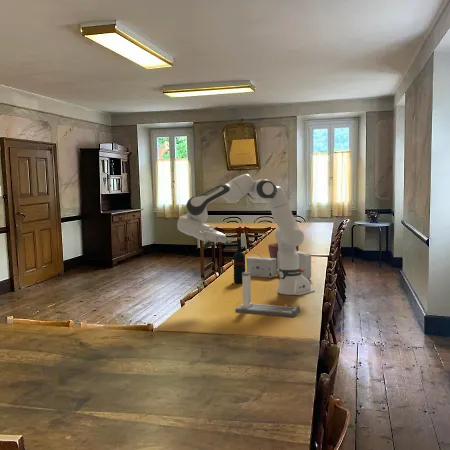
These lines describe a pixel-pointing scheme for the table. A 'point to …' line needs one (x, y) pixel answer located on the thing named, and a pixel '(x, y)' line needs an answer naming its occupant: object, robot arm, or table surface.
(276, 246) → the bucket
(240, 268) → the wine bottle
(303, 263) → the rounded white slab
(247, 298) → the fader tab
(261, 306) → the board
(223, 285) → the table surface
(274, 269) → the stereo radio cassette player
